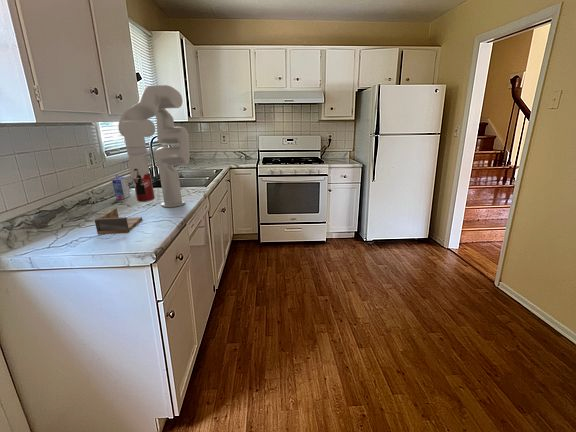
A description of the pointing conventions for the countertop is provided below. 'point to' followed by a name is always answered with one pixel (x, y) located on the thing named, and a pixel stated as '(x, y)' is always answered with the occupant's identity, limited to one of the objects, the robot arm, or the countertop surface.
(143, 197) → the soda can
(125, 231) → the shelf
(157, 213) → the countertop surface
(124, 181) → the ink cartridge box
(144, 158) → the robot arm
